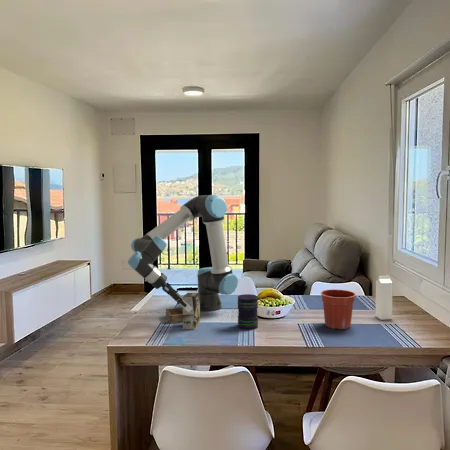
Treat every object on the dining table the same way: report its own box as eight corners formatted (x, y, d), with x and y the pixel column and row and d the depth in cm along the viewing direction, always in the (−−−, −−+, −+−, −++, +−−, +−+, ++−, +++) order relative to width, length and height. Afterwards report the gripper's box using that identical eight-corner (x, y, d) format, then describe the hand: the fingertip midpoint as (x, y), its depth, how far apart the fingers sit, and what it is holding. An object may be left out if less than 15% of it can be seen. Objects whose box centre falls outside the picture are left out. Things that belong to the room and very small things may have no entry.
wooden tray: (190, 313, 227) (189, 306, 227) (195, 321, 214) (195, 313, 213) (166, 316, 224) (165, 308, 223) (170, 323, 210) (169, 315, 210)
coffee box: (195, 330, 200) (195, 296, 199) (182, 329, 201) (181, 296, 200) (200, 324, 209) (199, 292, 208) (188, 323, 210) (187, 291, 209)
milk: (375, 316, 218) (375, 274, 216) (386, 316, 218) (386, 274, 217) (380, 319, 212) (381, 276, 210) (392, 319, 212) (392, 276, 211)
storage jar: (234, 325, 206) (234, 295, 205) (252, 322, 210) (252, 293, 209) (243, 331, 197) (243, 300, 196) (261, 328, 201) (261, 297, 200)
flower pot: (354, 332, 193) (354, 298, 192) (318, 329, 199) (318, 295, 197) (356, 322, 208) (356, 290, 207) (322, 319, 214) (322, 288, 213)
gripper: (148, 279, 210) (178, 305, 215) (153, 289, 186) (187, 319, 191) (158, 267, 211) (188, 294, 216) (165, 277, 187) (198, 307, 192)
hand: (188, 306), depth 203 cm, fingers open, 13 cm apart
